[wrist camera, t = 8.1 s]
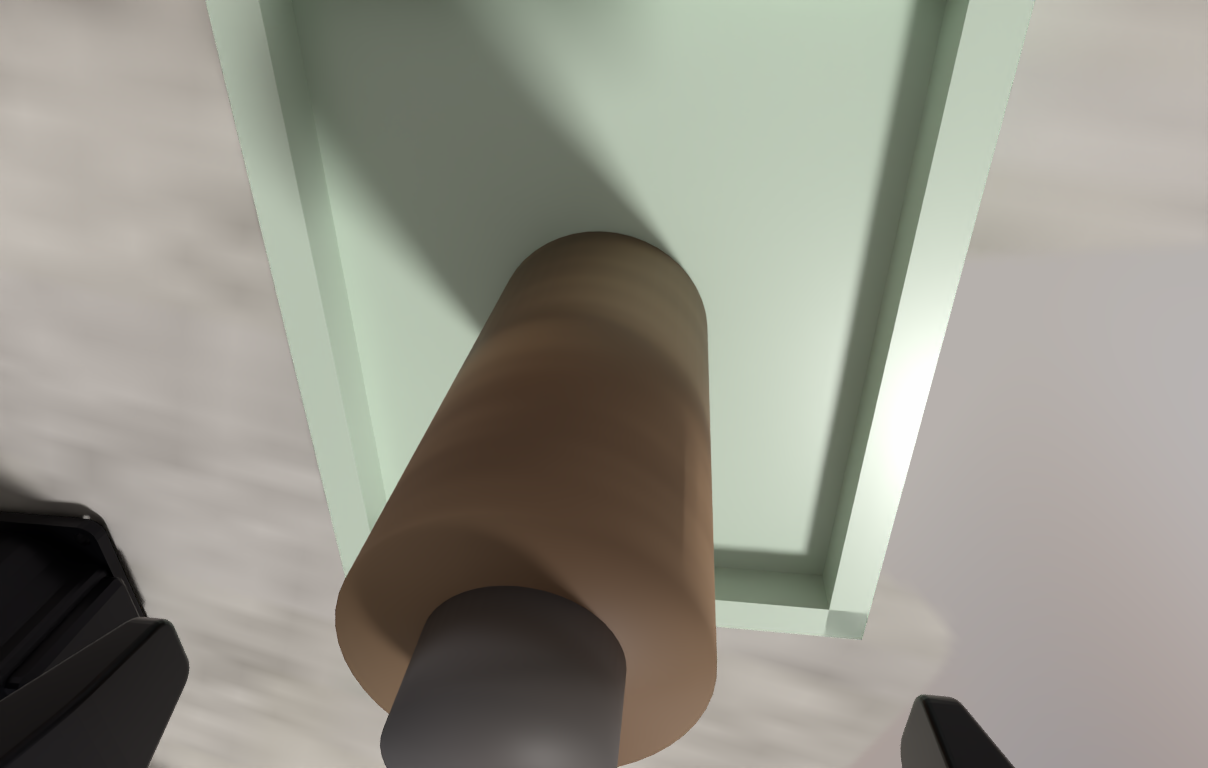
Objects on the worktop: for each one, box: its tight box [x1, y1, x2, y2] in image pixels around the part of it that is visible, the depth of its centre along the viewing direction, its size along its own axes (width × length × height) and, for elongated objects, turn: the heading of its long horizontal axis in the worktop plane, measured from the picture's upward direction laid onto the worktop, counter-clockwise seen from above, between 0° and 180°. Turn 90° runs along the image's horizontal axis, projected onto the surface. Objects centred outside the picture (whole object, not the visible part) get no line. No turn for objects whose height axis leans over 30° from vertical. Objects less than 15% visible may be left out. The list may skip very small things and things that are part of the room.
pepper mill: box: [335, 231, 717, 768], centre depth 12 cm, size 5×5×10 cm
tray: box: [205, 0, 1035, 640], centre depth 17 cm, size 14×16×2 cm
